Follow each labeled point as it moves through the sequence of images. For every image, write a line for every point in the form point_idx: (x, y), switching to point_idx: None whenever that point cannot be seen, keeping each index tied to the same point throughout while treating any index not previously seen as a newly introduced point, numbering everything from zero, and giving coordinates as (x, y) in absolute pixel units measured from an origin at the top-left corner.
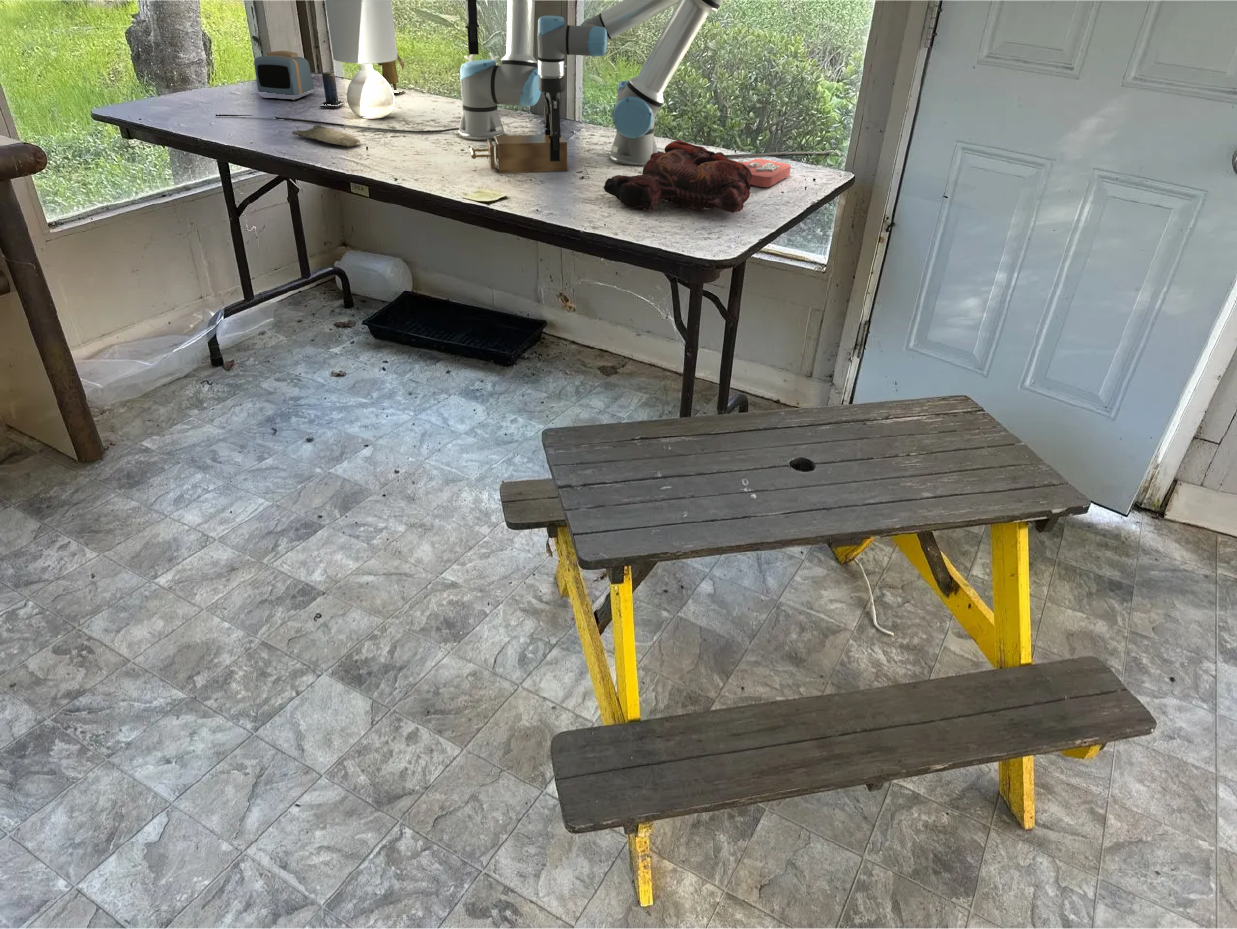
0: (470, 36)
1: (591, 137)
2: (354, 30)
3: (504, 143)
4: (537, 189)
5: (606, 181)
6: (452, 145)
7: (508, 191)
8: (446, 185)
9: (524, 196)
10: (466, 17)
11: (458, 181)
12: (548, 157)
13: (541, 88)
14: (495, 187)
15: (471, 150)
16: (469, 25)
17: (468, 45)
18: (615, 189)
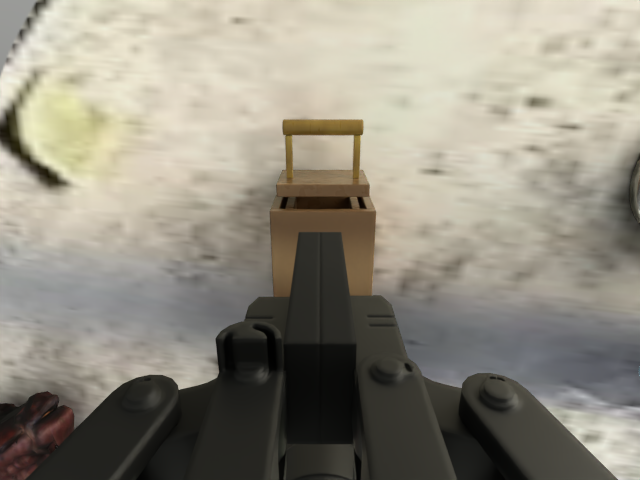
0: (279, 319)
1: (572, 433)
2: None
3: (272, 230)
4: (132, 262)
5: (30, 408)
6: (608, 72)
7: (110, 194)
8: (157, 27)
9: (72, 227)
10: (516, 438)
11: (198, 67)
12: None
13: (296, 450)
14: (143, 166)
15: (331, 124)
16: (116, 397)
17: (303, 257)
18: (14, 412)
